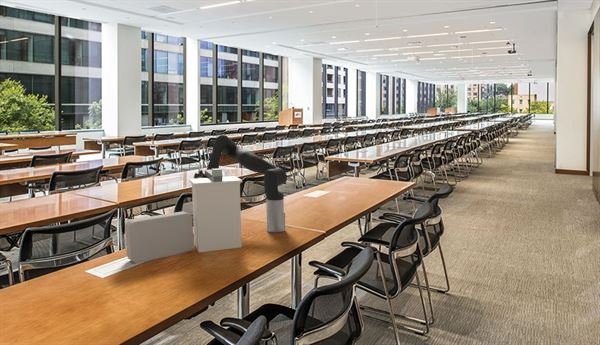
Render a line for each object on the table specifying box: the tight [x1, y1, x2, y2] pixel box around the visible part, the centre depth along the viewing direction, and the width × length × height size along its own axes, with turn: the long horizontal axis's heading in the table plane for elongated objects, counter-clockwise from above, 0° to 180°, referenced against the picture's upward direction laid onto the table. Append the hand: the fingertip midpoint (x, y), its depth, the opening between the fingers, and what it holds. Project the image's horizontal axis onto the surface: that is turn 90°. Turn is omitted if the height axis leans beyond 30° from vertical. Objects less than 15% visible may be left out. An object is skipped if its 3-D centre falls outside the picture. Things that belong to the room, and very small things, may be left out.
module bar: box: [204, 167, 223, 182], centre depth 215 cm, size 4×24×6 cm, turn 21°
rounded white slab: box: [124, 211, 194, 264], centre depth 201 cm, size 29×8×18 cm, turn 129°
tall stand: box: [189, 175, 243, 253], centre depth 213 cm, size 22×14×32 cm, turn 111°
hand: (210, 171), depth 223 cm, fingers open, 7 cm apart
